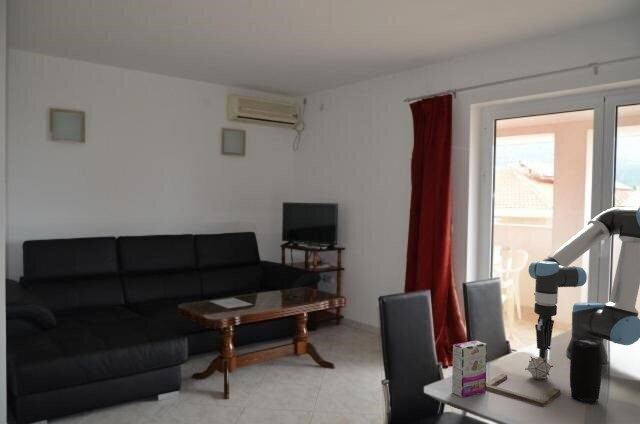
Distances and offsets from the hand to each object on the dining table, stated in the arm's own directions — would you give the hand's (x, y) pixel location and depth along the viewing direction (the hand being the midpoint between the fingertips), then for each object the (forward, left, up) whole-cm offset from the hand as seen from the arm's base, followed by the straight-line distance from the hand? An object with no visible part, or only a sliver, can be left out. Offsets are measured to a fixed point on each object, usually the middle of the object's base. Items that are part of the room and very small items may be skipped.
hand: (542, 366), depth 179 cm
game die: (+5, 0, -3) cm, 6 cm away
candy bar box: (+37, -11, -3) cm, 38 cm away
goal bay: (+21, 0, -3) cm, 21 cm away
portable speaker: (+13, +18, -3) cm, 23 cm away
